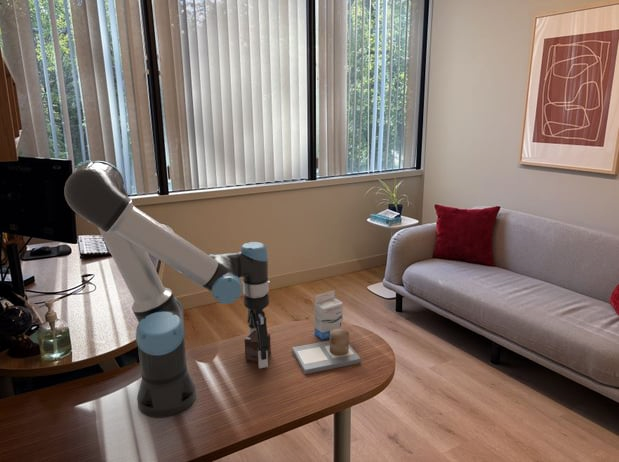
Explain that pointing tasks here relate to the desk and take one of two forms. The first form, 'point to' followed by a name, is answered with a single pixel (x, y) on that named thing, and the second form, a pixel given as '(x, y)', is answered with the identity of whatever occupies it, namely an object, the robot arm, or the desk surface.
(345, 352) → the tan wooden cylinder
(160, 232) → the robot arm
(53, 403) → the desk surface
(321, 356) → the grey tray with squares
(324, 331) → the ink box
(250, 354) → the box
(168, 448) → the desk surface
